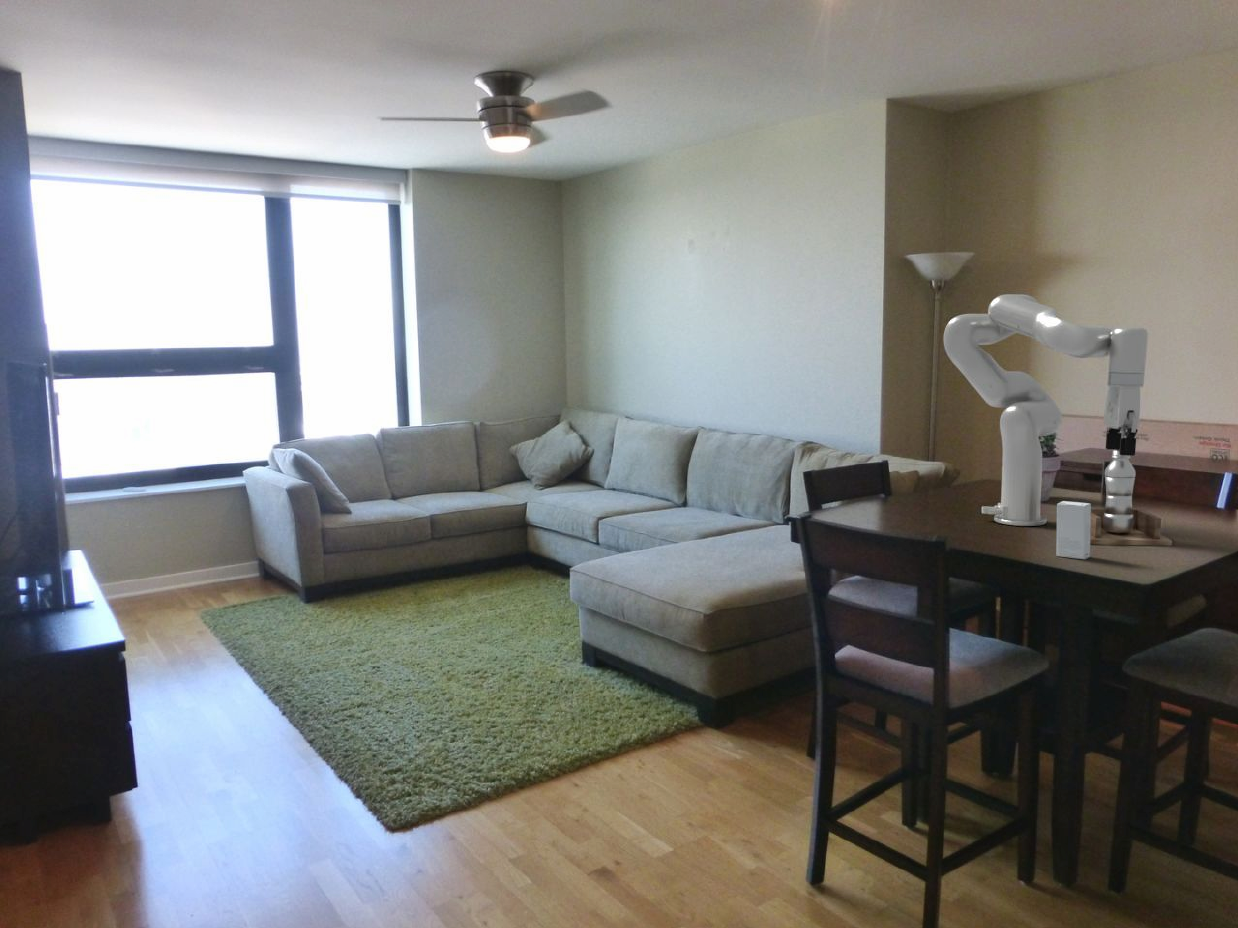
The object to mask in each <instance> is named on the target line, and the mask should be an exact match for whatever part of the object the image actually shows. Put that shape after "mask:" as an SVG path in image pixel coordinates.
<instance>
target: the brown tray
mask: <svg viewBox="0 0 1238 928" xmlns="http://www.w3.org/2000/svg"><path fill="white" fill-rule="evenodd" d="M1104 513H1105V508H1103V507H1101V508H1099V507H1091V526H1090V545H1097V546H1098V545H1101V546H1102V545H1103V546H1105V545H1106V546H1108V545H1109V546H1110V545H1112V546H1113V545H1114V546H1156V547H1157V546H1159V547H1163V546H1165V547H1166V546H1167V547H1170V546H1171V547H1172V544H1173V541H1172V539H1169V538H1168V537H1166V536H1164V535H1162V534H1161V526H1162V518H1160V517H1158V516H1156V515H1155V514H1152V513H1150V512H1147V511H1146V510H1143V509H1142V508H1132V514H1133V518H1134V526H1133V529H1132V531H1131V532H1129V533H1121V534H1116V533H1112V532H1108V531H1106V530H1105V529H1104V527H1103V522H1102V521H1103V516H1104Z"/></svg>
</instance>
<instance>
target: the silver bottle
mask: <svg viewBox="0 0 1238 928" xmlns="http://www.w3.org/2000/svg"><path fill="white" fill-rule="evenodd" d="M1111 451H1112V453H1111V459H1112V461H1110V463H1109V464H1107V466H1106V467H1105V470H1104V479H1105V480H1104V481H1105V491H1106V494H1105V495H1106V497H1105V498H1106V499H1105V513H1104V516H1103V521H1102V522H1103V527H1104V529H1105V530H1106V531H1108V532H1112V533H1116V534H1121V533H1129V532H1131V531H1132V529H1133V526H1134V518H1133V514H1132V509H1133V490H1134V486H1135V480H1136V474H1137V473H1136V470H1135V468H1134V466H1133V464H1132V463H1131V462H1130V460H1129V459H1131V456H1128V455H1120V454H1119V452H1120V449H1119V450H1111Z"/></svg>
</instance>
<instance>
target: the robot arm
mask: <svg viewBox="0 0 1238 928" xmlns="http://www.w3.org/2000/svg"><path fill="white" fill-rule="evenodd" d="M943 332H944V333H943V347H944V350H945V352H946V355H947V356H948V358H949V360H950V361H951V362H952V364H953V365H954V366H955V367H956V368H957V369H958V370H959V371H960V372H961V374H962V375H963V376H964V377H965V378H966V380H967V381H968V383H970V385H971V386H972V387H973V389H974V390H975V391H976V392H977V393H978V395H979V396H980V397H981V398H982V399H983V400H984V402H985V403H986V404H987V405H989V406H990V407H992V408H996V409H997V408H1000V409H1001V408H1005V409H1004V410H1003V411H1002V413H1001V416H1000V420H999V429H1000V436H1001V445H1002V465H1001V466H1002V467H1001V490H1000V491H1001V493H1000V494H1001V498H1000V502H998V503H997V505H996V504H995V505H994V506H989V505H988V506H986V505H985V506H982V505H981V514H988V515H994V516H993V520H994V521H995V523H999V524H1003V525H1008V526H1017V527H1018V526H1019V527H1035V526H1036V527H1037V526H1044V525H1045V524H1047V518H1046V517H1044V516H1042V515H1041V502H1042V501H1041V479H1042V449H1041V445H1040V442H1039V438H1038V437H1041V436H1047V435H1051V434H1053V433H1054V434H1056V432H1058V430H1059V429H1060V428H1061V425H1062V422H1063V415H1062V411H1061V409H1060V408H1059V406H1058V404H1057V403H1056V402H1055V401H1054V399H1052V397H1051V396H1050V395H1049V394H1048V393H1047V392H1046V390H1045V389H1044V388H1043V387H1042V386H1041V385H1040V384H1039V382H1038V381H1037V380H1035V378H1034V377H1033V376H1031V375H1029V374H1028V373H1026V372H1024V371H1020V370H1017V371H1015V370H1014V371H1013V370H1012V371H1011V370H1010V371H1009V370H1005V369H1004V368H1003V367H1001V365H999V363H998V362H997V361H996V360H995V359H994V357H993V356H992V355H991V354H989V353H988V352H987V351H985V350H984V349H983V348H981V346H987V345H993V344H996V343H999V342H1001V341H1003V340H1005V339H1007V338H1009V337H1012V336H1014V335H1015V334H1017V333H1018V334H1020V335H1023V336H1026V337H1028V338H1031V339H1034V340H1037V341H1038V342H1039V343H1041V344H1042V345H1043V346H1045V347H1047V348H1049V349H1050V350H1053V351H1055V352H1057V353H1058V352H1059V353H1062V354H1064V355H1066V356H1070V357H1074V358H1077V359H1090V358H1091V359H1092V358H1095V359H1096V358H1097V359H1098V358H1099V359H1100V358H1109V360H1108V370H1107V385H1106V386H1107V387H1108V390H1107V395H1106V399H1105V400H1106V401H1105V409H1104V414H1103V415H1104V416H1103V424H1104V425H1105V426H1107V427H1106V437H1105V438H1106V439H1105V449H1106V450H1111V451H1113V450H1120V452H1119V454H1120V455H1128V456H1130V457H1131V456H1132V457H1134V456H1135V455H1136V448H1137V447H1136V446H1137V445H1136V444H1137V438H1138V432H1139V431H1138V430H1139V429H1138V427H1139V424H1140V411H1141V388H1144V386H1145V385H1144V384H1145V376H1146V375H1145V373H1146V363H1147V351H1148V349H1147V348H1148V339H1149V333H1148V331H1147V329H1146V328H1144V327H1139V326H1138V327H1136V326H1135V327H1133V326H1132V327H1131V326H1129V327H1122V326H1121V327H1113V326H1104V325H1087V326H1084V325H1080V324H1076V323H1074V322H1071V321H1069V320H1068V321H1067V320H1065V319H1062V318H1060V317H1058V312H1057V310H1056V309H1055V308H1053V307H1052V306H1051V307H1050V306H1047V305H1044V304H1041V303H1039V302H1038V300H1036V298H1034V297H1033V296H1031V295H1029V294H1020V293H1019V294H1016V293H1015V294H1014V293H1013V294H1012V293H1010V294H1009V293H1007V294H1001V295H998V296H996V297H995V298H994V299H993V300H992V301H991V302H990V303H989V305H988V309H987V313H965V314H964V313H963V314H960V315H957V316H955V317H953V318H951V319H950V320H949V321H948V322H947V324H946V325H945V329H944V331H943Z"/></svg>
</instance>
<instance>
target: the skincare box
mask: <svg viewBox="0 0 1238 928" xmlns="http://www.w3.org/2000/svg"><path fill="white" fill-rule="evenodd" d="M1091 508H1092V504H1091V503H1088V502H1079V501H1066V500H1063V501H1060V502H1058V503H1057V504H1056V549H1055V550H1056V554H1055V555H1056V556H1057V557H1063V558H1070V559H1071V558H1072V559H1077V560H1078V559H1079V560H1086V559H1088V558H1090V556H1091V544H1090V526H1091Z"/></svg>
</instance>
